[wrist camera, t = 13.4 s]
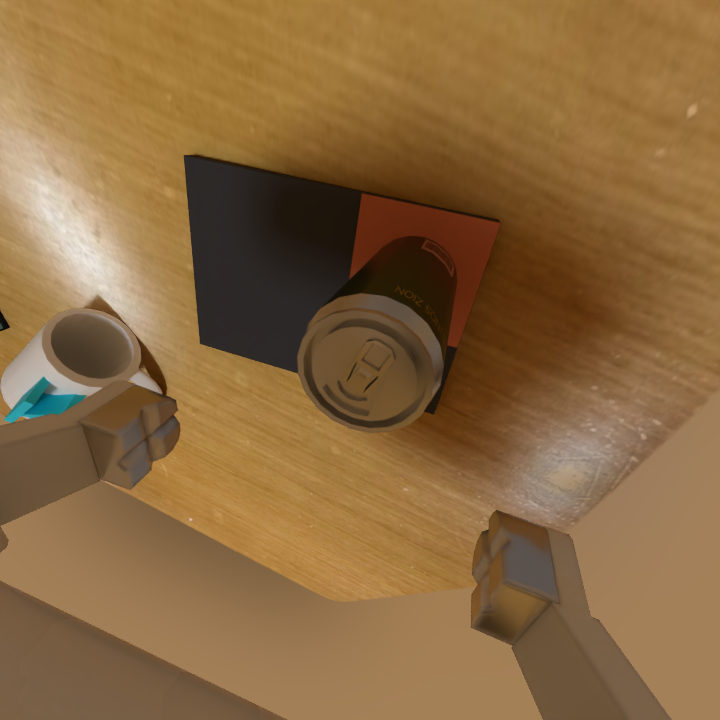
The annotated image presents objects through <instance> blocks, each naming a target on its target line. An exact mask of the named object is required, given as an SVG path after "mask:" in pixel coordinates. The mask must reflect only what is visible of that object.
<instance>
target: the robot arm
mask: <svg viewBox="0 0 720 720" xmlns="http://www.w3.org/2000/svg"><path fill="white" fill-rule="evenodd" d="M177 411H178V408H177V403H176V400H175V399H173V398H171V397H168V396H165V395H163V394H160V393H157V392H155V391H152V390H150V389H147V388H144V387H142V386H139V385H136V384H133V383H130V382H128V381H125V380H118V381H114V382H112V383H110V384H109V385H107V386H105V387H104V388H102V389H101V390H99V391H97V392H96V393H94V394H92V395H91V396H89V397H87V398H86V399H84V400H82V401H81V402H79V403H77V404H76V405H74V406H72V407H71V408H69V409H67V410H66V411H64V412H63V413H61V414H59V415H57V414H54V413H52V414H48V415H44V416H39V417H35V418H31V419H27V420H22V421H18V422H14V423H10V424H5V425H1V426H0V526H1V525H3V524H6V523H8V522H10V521H12V520H15V519H17V518H19V517H21V516H23V515H26V514H28V513H30V512H32V511H34V510H37V509H39V508H41V507H43V506H46V505H48V504H50V503H52V502H55V501H57V500H59V499H61V498H63V497H65V496H68V495H70V494H72V493H74V492H77V491H79V490H81V489H83V488H86V487H88V486H90V485H92V484H94V483H96V482H99V481H100V479H101V480H104V481H107V482H110V483H112V484H115V485H118V486H120V487H123V488H126V489H129V490H131V489H132V488H133V487H134V486H135V485H136V484H137V483H138V482H139V481H140V480H141V479H142V478H143V477H145V476H146V475H147V474H148V473H149V472H150V471H151V469H152V464H153V461H156V460H159V459H162V458H164V457H166V456H167V455H168V454H169V453H170V452H171V451H172V450H173V448H174V447H175V445H176V443H177V441H178V439H179V436H180V423H179V422H178V420H177V419H176V418H175V416H174V414H175V413H176V412H177ZM8 541H9V540H8V539H7V537H6V535H5V534H4V532H3V530H2V529H1V527H0V552H1V551H3V550H4V549H5V548H6V547H7V545H8ZM472 575H473V577H474V579H475V580H476V582H477V584H478V585H477V586H476V588H475V590H474V591H473V593H472V597H471V628H473V629H475V630H478V631H480V632H482V633H485V634H487V635H489V636H491V637H494V638H496V639H498V640H501V641H503V642H505V643H508V644H510V645H512V646H513V647H512V650H513V652H514V654H515V657H516V659H517V661H518V663H519V666H520V668H521V670H522V673H523V675H524V677H525V680H526V682H527V684H528V686H529V689H530V691H531V693H532V695H533V698H534V700H535V702H536V705H537V707H538V709H539V712H540V714H541V716H542V718H543V720H671V718H670V717H669V716H668V714H667V713H666V711H665V710H664V709H663V707H662V706H661V705H660V703H659V702H658V700H657V699H656V698H655V696H654V695H653V693H652V692H651V691H650V689H649V688H648V687H647V685H646V684H645V682H644V681H643V680H642V678H641V677H640V676H639V675H638V673H637V671H636V670H635V669H634V667H633V666H632V665H631V663H630V662H629V660H628V659H627V658H626V656H625V655H624V654H623V652H622V651H621V649H620V648H619V647H618V645H617V644H616V643H615V641H614V640H613V638H612V637H611V636H610V634H609V633H608V632H607V631H606V629H605V627H604V626H603V625H602V623H601V622H600V621H599V620H598V619H596V618H593V617H591V616H590V611H589V607H588V603H587V599H586V595H585V590H584V586H583V582H582V578H581V574H580V570H579V565H578V561H577V557H576V553H575V549H574V544H573V540H572V539H571V537H570V536H569V534H566V533H563V532H560V531H557V530H554V529H551V528H548V527H545V526H542V525H540V524H537V523H534V522H531V521H528V520H525V519H522V518H519V517H516V516H513V515H510V514H507V513H504V512H501V511H498V510H496V511H495V512H493V514H492V515H491V517H490V519H489V530H486V531H483V532H482V533H481V535H480V537H479V539H478V541H477V544H476V547H475V551H474V556H473V564H472ZM0 720H287V719H285V718H283V717H281V716H279V715H277V714H274V713H272V712H270V711H268V710H266V709H264V708H262V707H260V706H258V705H256V704H254V703H252V702H249V701H248V700H246V699H243V698H241V697H239V696H237V695H235V694H233V693H231V692H229V691H227V690H225V689H223V688H221V687H219V686H217V685H215V684H212V683H211V682H208V681H206V680H204V679H202V678H200V677H198V676H196V675H194V674H192V673H190V672H188V671H186V670H183V669H181V668H179V667H178V666H175V665H173V664H171V663H169V662H167V661H165V660H163V659H161V658H159V657H157V656H155V655H153V654H151V653H148V652H146V651H144V650H142V649H140V648H138V647H136V646H134V645H132V644H130V643H128V642H126V641H124V640H122V639H120V638H118V637H116V636H114V635H111V634H109V633H107V632H105V631H103V630H101V629H99V628H97V627H95V626H93V625H91V624H89V623H87V622H85V621H83V620H81V619H78V618H76V617H74V616H72V615H70V614H68V613H66V612H64V611H62V610H60V609H58V608H56V607H54V606H52V605H50V604H47V603H45V602H43V601H41V600H39V599H37V598H35V597H33V596H31V595H29V594H27V593H24V592H22V591H21V590H19V589H16V588H14V587H12V586H10V585H8V584H6V583H4V582H2V581H0Z"/></svg>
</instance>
